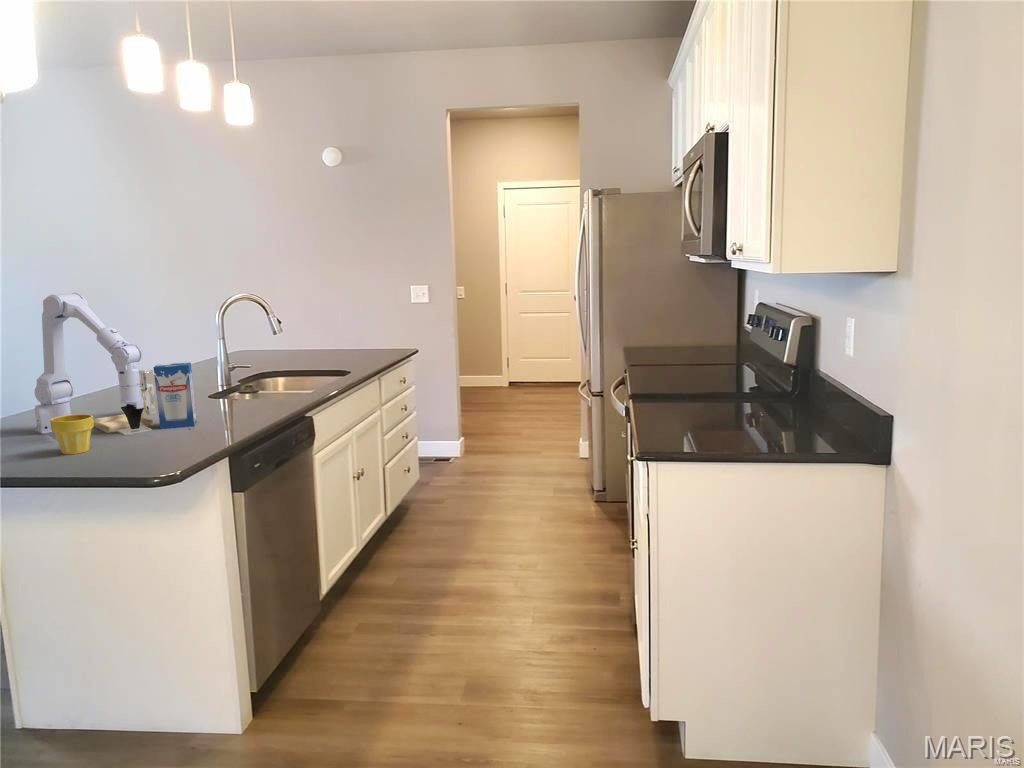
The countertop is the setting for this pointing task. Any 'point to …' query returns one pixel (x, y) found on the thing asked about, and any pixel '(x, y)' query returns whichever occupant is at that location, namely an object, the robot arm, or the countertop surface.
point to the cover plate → (134, 430)
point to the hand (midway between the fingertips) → (135, 428)
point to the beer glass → (147, 390)
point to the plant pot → (73, 432)
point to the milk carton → (175, 395)
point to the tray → (118, 423)
